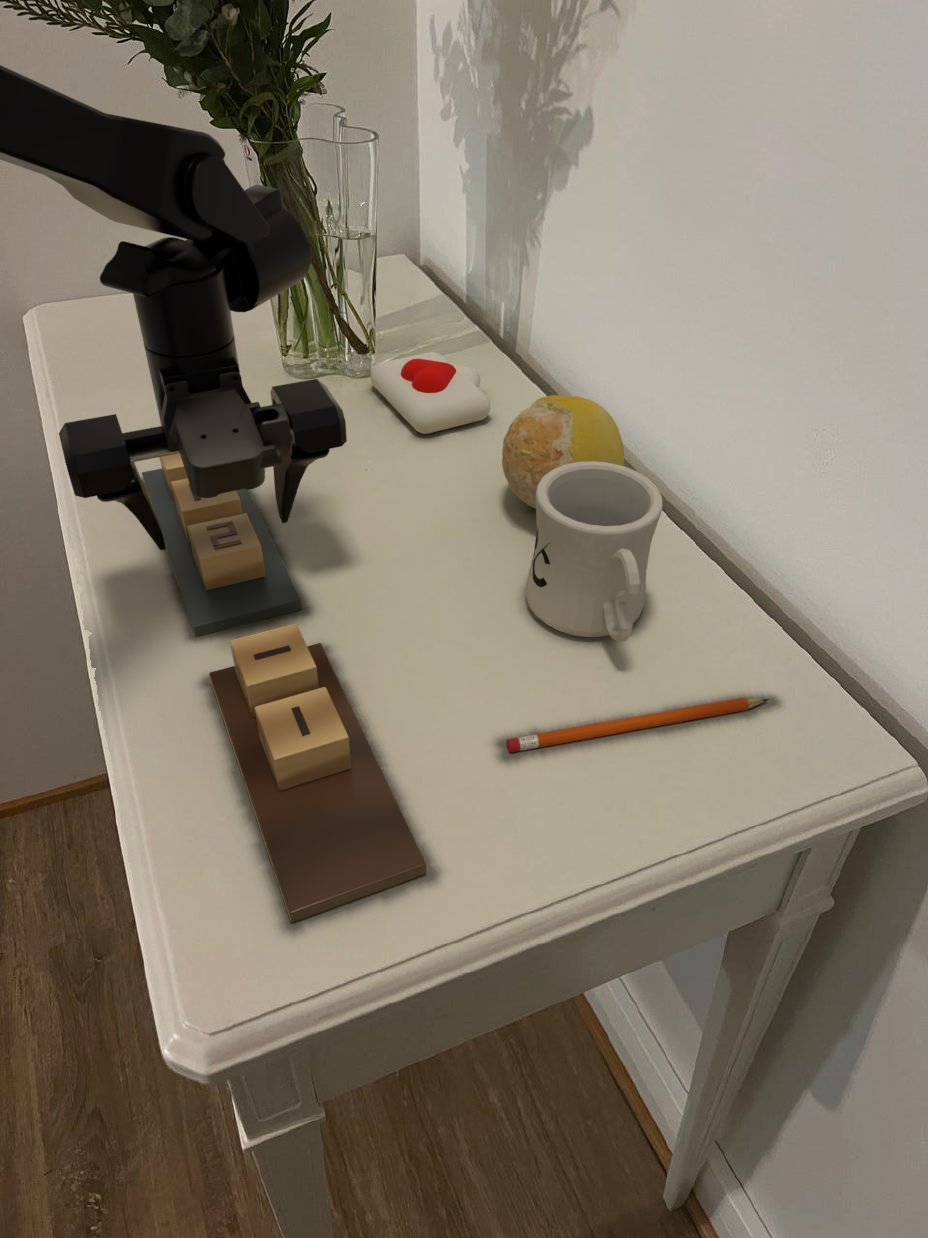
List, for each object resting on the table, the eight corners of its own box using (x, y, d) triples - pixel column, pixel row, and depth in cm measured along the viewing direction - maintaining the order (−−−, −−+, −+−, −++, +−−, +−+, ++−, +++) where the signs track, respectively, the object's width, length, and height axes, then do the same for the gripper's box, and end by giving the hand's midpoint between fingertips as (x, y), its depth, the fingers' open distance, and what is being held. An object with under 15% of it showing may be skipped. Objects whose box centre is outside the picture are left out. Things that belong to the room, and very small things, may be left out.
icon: (511, 378, 90) (418, 400, 86) (509, 418, 93) (418, 441, 89) (452, 329, 98) (365, 347, 94) (452, 367, 101) (366, 386, 97)
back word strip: (302, 609, 71) (297, 567, 68) (195, 637, 68) (186, 594, 65) (233, 463, 86) (226, 424, 83) (143, 481, 83) (134, 441, 80)
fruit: (554, 462, 87) (564, 362, 80) (641, 515, 81) (660, 412, 74) (471, 500, 82) (475, 397, 75) (557, 560, 76) (570, 453, 69)
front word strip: (426, 874, 54) (426, 832, 51) (291, 923, 51) (283, 881, 48) (321, 652, 67) (317, 609, 65) (210, 682, 65) (201, 639, 62)
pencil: (505, 745, 61) (506, 736, 61) (765, 699, 65) (768, 690, 65) (509, 755, 61) (510, 746, 60) (771, 708, 64) (774, 699, 64)
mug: (510, 574, 75) (518, 466, 68) (617, 559, 76) (635, 453, 70) (560, 682, 66) (575, 571, 59) (679, 662, 67) (707, 552, 61)
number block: (265, 576, 72) (261, 544, 70) (206, 591, 70) (199, 558, 68) (251, 543, 75) (246, 511, 73) (193, 556, 74) (186, 524, 72)
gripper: (49, 423, 52) (112, 631, 62) (367, 367, 58) (376, 565, 68) (31, 340, 60) (90, 538, 70) (314, 299, 66) (330, 486, 76)
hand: (224, 533), depth 71 cm, fingers open, 9 cm apart
